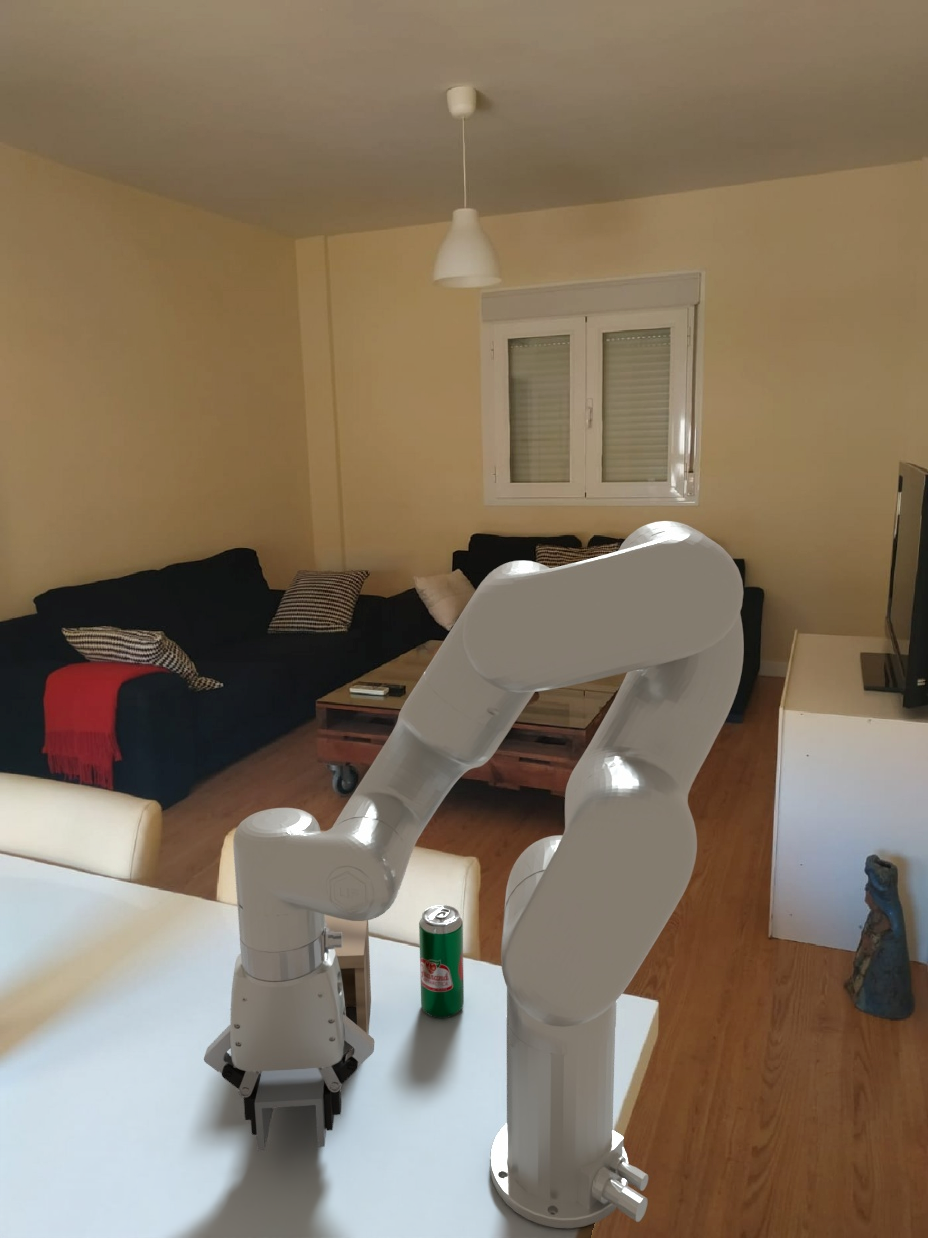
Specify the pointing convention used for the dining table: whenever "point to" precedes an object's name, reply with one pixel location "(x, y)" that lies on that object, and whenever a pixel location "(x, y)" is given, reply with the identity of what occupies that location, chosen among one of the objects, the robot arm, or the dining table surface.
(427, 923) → the soda can
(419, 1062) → the dining table surface
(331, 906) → the robot arm
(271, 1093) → the grey u-shaped piece
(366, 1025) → the shelf
